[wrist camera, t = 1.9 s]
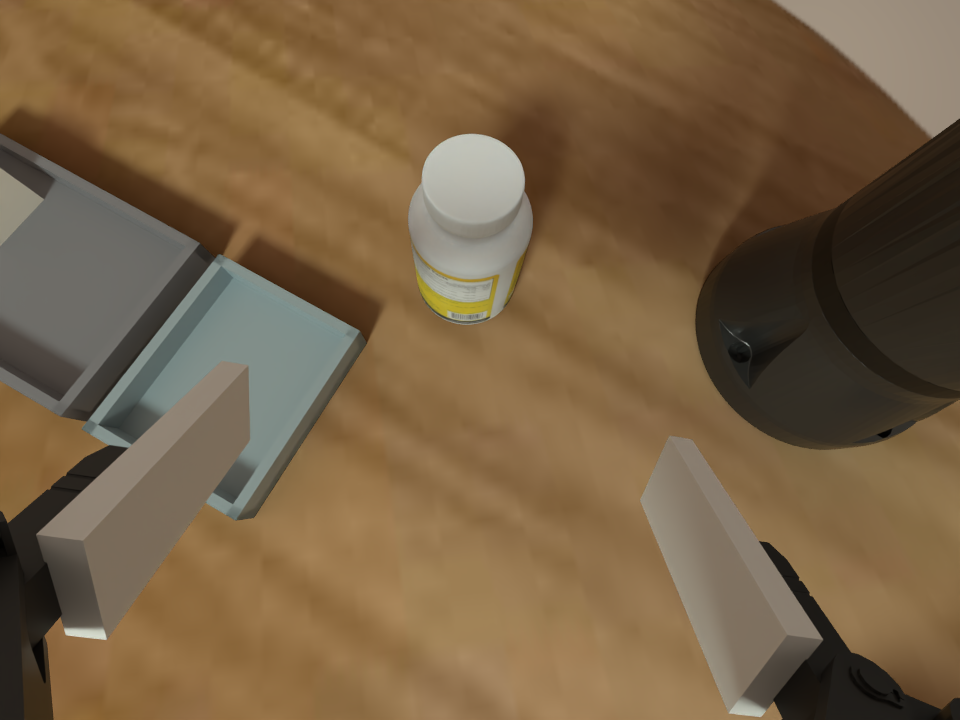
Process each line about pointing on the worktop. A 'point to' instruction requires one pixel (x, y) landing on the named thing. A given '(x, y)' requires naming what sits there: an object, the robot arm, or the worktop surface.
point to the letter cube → (14, 204)
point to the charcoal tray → (83, 286)
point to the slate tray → (244, 340)
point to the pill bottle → (469, 228)
